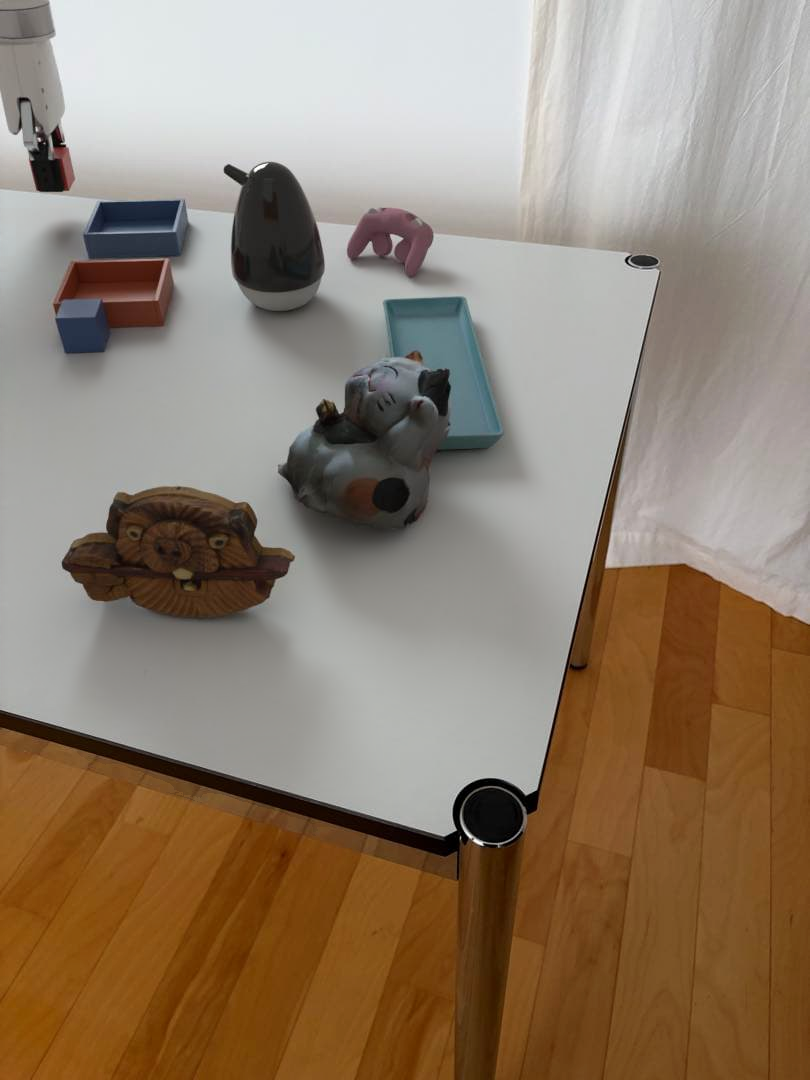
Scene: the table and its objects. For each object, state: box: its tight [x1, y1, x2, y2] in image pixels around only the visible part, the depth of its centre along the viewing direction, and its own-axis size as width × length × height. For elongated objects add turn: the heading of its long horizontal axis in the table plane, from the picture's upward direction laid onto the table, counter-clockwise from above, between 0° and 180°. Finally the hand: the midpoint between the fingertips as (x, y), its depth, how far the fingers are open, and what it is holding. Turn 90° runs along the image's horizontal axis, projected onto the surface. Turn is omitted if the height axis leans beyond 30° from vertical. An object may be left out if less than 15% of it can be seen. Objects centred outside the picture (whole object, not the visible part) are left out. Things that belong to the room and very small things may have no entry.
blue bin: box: [82, 198, 189, 259], centre depth 112 cm, size 11×10×3 cm
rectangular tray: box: [382, 295, 505, 451], centre depth 89 cm, size 26×9×2 cm, turn 5°
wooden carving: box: [61, 485, 296, 619], centre depth 64 cm, size 16×5×10 cm, turn 90°
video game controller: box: [346, 207, 435, 277], centre depth 107 cm, size 10×5×7 cm, turn 58°
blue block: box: [54, 299, 111, 354], centre depth 93 cm, size 4×4×4 cm
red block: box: [28, 146, 76, 192], centre depth 113 cm, size 4×4×4 cm
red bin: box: [52, 258, 174, 328], centre depth 99 cm, size 11×10×3 cm
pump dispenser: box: [223, 161, 326, 312], centre depth 96 cm, size 10×10×15 cm
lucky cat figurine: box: [277, 350, 451, 530], centre depth 73 cm, size 15×12×14 cm
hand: (55, 182), depth 114 cm, fingers closed on red block, 4 cm apart
